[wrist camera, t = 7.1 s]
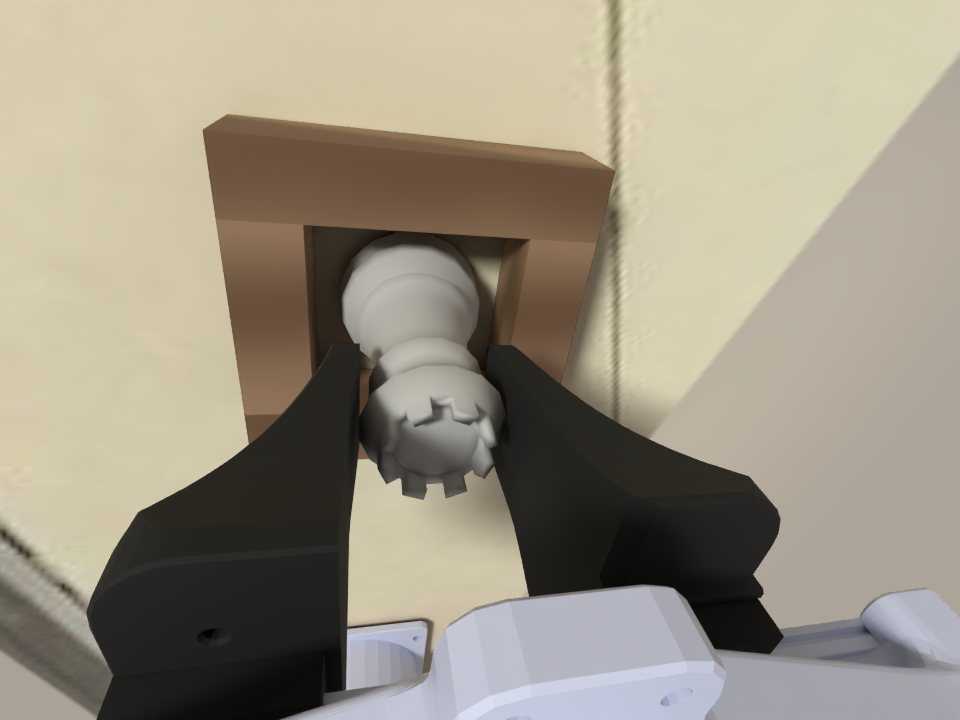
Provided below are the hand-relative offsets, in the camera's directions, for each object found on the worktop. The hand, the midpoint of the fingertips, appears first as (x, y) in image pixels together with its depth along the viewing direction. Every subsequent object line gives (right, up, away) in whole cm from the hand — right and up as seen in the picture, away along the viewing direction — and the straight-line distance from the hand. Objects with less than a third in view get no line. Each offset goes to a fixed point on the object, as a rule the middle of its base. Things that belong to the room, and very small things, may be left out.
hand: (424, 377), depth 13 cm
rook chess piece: (-1, +3, +4) cm, 5 cm away
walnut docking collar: (-1, +3, +4) cm, 5 cm away
